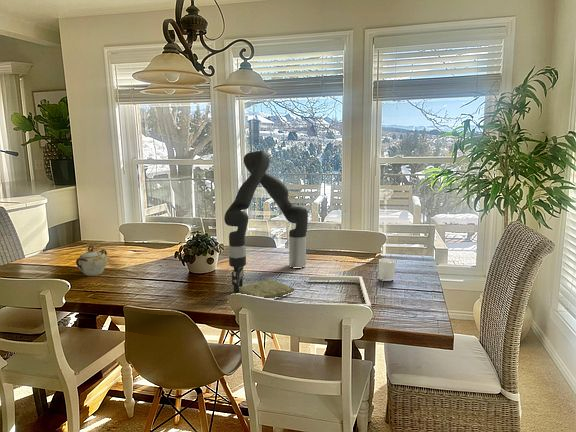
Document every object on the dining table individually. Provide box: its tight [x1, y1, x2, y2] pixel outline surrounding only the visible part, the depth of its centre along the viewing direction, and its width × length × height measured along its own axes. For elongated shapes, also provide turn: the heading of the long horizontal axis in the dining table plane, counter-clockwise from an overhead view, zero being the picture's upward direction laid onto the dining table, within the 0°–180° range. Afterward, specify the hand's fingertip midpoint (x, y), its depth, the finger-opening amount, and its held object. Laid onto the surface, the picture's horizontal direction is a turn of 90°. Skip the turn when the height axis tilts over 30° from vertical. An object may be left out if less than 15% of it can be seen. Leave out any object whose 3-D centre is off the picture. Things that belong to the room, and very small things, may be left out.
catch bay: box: [308, 274, 372, 309], centre depth 183 cm, size 37×26×3 cm
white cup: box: [378, 257, 396, 280], centre depth 203 cm, size 8×8×10 cm
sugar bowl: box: [75, 245, 109, 277], centre depth 215 cm, size 20×15×15 cm
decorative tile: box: [239, 279, 295, 298], centre depth 185 cm, size 19×20×4 cm
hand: (238, 289), depth 186 cm, fingers open, 8 cm apart
